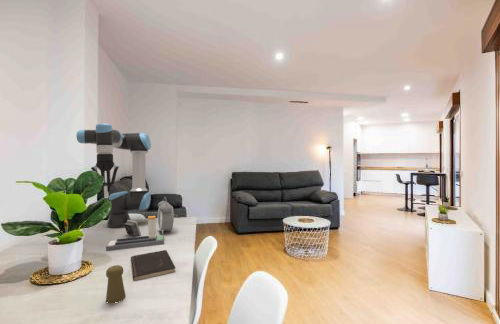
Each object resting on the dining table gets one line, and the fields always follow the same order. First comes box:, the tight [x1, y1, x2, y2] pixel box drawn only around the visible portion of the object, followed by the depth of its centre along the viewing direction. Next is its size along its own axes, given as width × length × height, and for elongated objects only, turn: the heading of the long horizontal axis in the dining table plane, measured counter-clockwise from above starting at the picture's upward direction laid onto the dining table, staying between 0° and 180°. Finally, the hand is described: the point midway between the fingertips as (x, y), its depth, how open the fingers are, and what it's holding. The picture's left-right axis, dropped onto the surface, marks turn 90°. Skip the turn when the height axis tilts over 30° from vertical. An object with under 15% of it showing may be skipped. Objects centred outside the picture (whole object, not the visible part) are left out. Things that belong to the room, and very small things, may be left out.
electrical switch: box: [124, 220, 142, 237], centre depth 157 cm, size 9×5×9 cm, turn 57°
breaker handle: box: [147, 215, 157, 239], centre depth 143 cm, size 4×4×12 cm
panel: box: [105, 234, 165, 252], centre depth 141 cm, size 10×28×3 cm, turn 108°
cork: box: [105, 264, 126, 304], centre depth 87 cm, size 6×6×11 cm
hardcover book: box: [130, 249, 176, 282], centre depth 114 cm, size 16×23×2 cm
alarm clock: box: [157, 196, 175, 235], centre depth 164 cm, size 16×9×22 cm, turn 27°
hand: (106, 198), depth 136 cm, fingers closed
